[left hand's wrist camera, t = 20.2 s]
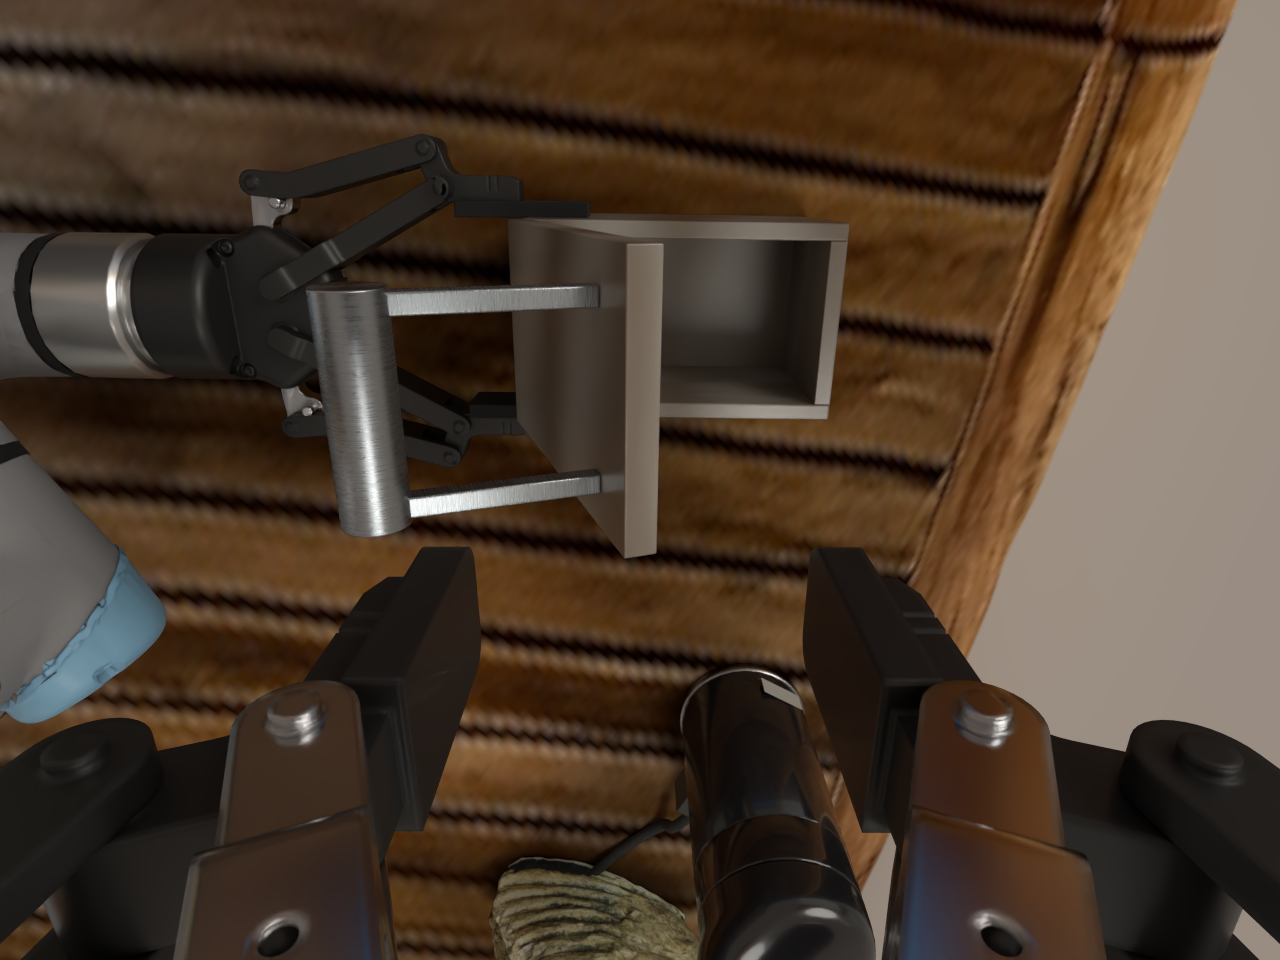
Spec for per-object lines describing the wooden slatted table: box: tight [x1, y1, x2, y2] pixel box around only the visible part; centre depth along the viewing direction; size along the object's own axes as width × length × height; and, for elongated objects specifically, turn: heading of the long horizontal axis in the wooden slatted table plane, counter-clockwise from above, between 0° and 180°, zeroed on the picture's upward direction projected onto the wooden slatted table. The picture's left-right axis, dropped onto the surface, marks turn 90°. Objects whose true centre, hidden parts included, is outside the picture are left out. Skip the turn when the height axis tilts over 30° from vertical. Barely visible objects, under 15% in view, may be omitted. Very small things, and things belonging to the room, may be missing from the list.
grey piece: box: [306, 219, 664, 558], centre depth 28 cm, size 16×10×9 cm
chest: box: [524, 213, 849, 420], centre depth 41 cm, size 15×10×10 cm, turn 89°
